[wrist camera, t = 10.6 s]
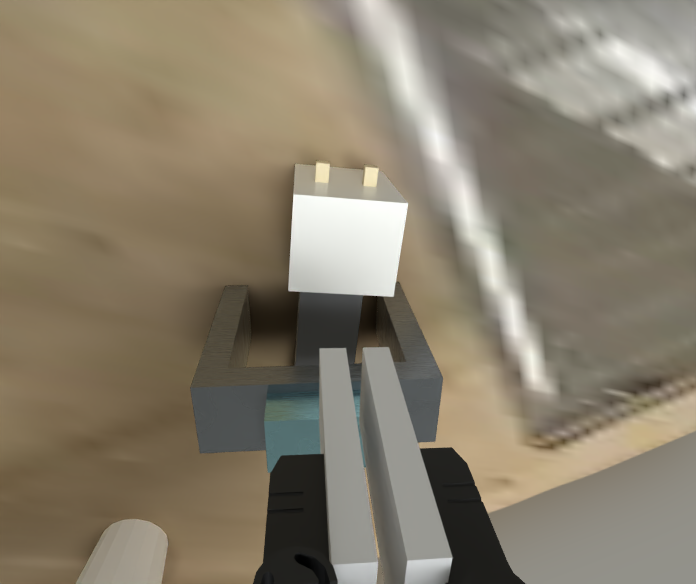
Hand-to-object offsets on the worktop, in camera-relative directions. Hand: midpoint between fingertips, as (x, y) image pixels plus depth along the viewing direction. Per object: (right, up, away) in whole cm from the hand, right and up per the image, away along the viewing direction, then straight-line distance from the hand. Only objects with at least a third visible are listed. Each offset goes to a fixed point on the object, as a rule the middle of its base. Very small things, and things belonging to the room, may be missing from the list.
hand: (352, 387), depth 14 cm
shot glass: (-19, -19, +28) cm, 39 cm away
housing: (-3, +2, +20) cm, 20 cm away
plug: (-1, +4, +19) cm, 19 cm away
